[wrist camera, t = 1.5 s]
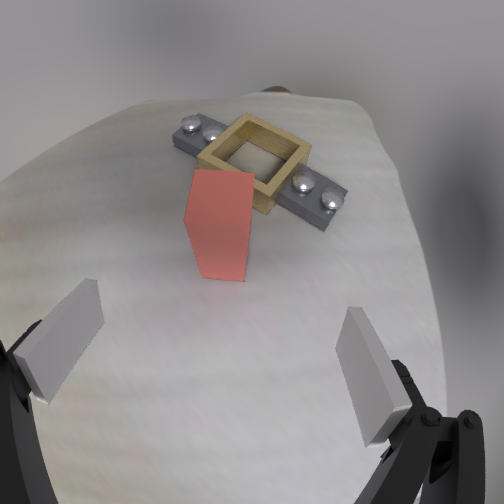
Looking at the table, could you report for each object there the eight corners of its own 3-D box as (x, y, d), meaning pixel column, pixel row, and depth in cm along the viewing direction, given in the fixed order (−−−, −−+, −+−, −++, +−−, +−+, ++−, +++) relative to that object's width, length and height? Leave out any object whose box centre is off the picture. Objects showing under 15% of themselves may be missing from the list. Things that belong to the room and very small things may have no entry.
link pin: (202, 277, 27) (183, 220, 17) (207, 239, 28) (195, 168, 18) (244, 281, 27) (250, 225, 17) (247, 243, 29) (254, 173, 18)
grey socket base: (162, 155, 33) (156, 135, 29) (208, 116, 36) (206, 96, 33) (316, 247, 29) (326, 231, 26) (350, 190, 32) (360, 173, 29)
